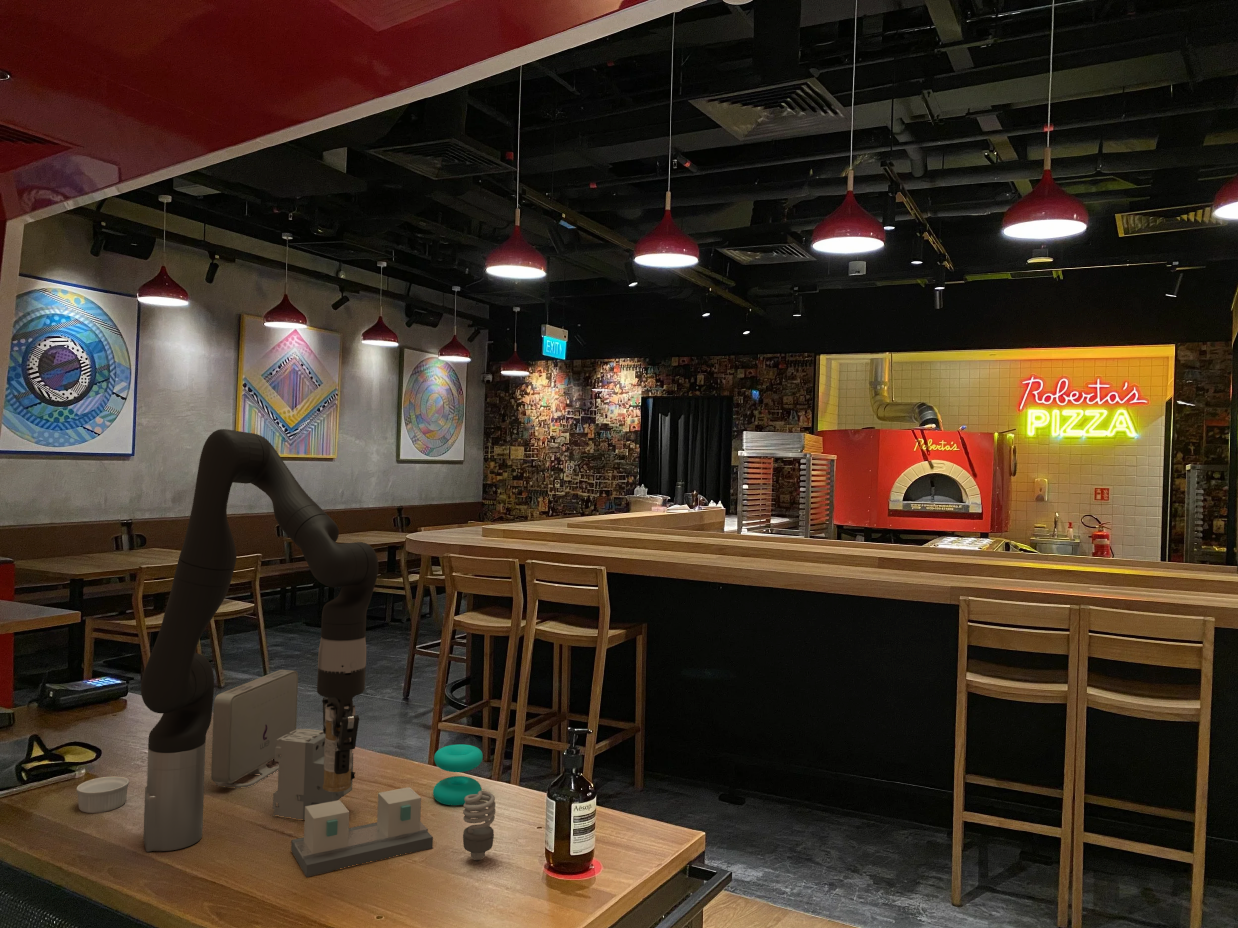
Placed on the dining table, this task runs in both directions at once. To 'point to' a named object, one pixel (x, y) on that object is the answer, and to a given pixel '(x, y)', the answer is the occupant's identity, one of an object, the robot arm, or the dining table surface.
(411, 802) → the mounted modules
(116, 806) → the ramekin
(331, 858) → the mounting board
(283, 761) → the circuit breaker
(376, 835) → the din rail
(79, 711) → the dining table surface
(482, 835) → the light bulb
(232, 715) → the network device
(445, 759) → the donuts
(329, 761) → the sprinkles bottle
